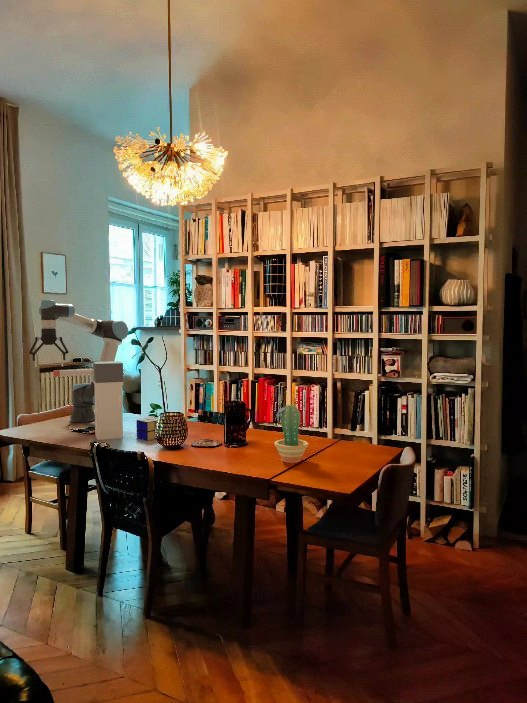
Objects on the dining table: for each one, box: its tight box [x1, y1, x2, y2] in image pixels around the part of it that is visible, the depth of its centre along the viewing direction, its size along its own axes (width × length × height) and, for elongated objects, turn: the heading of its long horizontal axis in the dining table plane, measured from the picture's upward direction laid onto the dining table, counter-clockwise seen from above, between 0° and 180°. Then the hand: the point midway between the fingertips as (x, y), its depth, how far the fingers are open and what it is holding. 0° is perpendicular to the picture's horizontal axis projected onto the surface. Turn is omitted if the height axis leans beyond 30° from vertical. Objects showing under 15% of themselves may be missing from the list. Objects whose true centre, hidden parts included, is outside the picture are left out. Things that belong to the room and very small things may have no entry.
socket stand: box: [92, 360, 124, 441], centre depth 288 cm, size 14×14×40 cm
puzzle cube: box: [136, 417, 159, 442], centre depth 286 cm, size 10×10×10 cm
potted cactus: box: [274, 404, 309, 464], centre depth 243 cm, size 15×15×25 cm
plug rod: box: [52, 368, 95, 378], centre depth 281 cm, size 25×3×3 cm, turn 112°
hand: (49, 366), depth 296 cm, fingers open, 13 cm apart
